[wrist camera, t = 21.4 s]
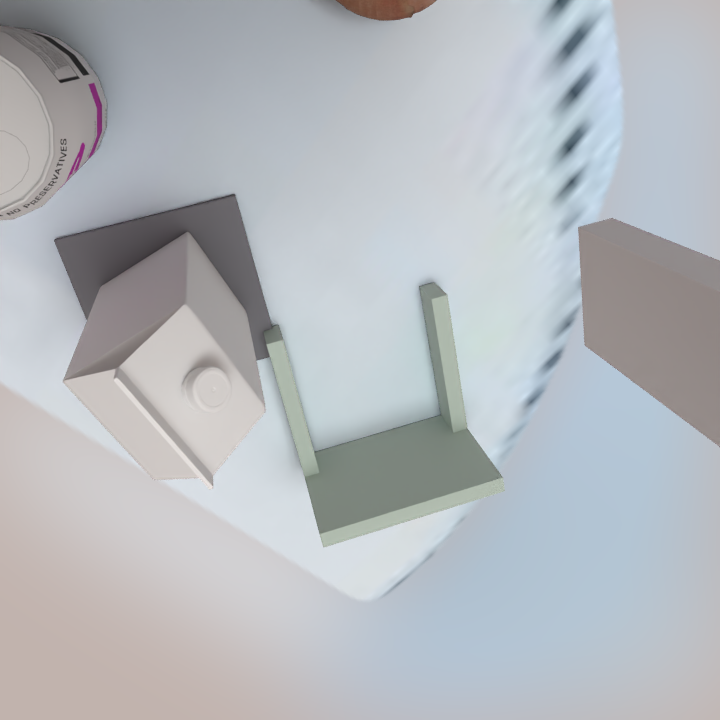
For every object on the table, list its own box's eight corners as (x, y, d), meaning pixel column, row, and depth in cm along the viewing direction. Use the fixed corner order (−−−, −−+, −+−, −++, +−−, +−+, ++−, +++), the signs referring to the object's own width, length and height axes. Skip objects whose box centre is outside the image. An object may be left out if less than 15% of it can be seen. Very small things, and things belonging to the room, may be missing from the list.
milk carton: (164, 364, 49) (148, 528, 32) (99, 285, 46) (44, 422, 29) (247, 312, 49) (275, 449, 32) (188, 229, 46) (185, 333, 29)
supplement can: (133, 141, 43) (107, 181, 30) (13, 194, 43) (-68, 259, 30) (62, 6, 40) (-5, -16, 26) (-70, 64, 39) (-206, 71, 26)
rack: (262, 328, 50) (277, 388, 41) (434, 282, 52) (484, 330, 43) (302, 468, 56) (323, 547, 47) (456, 423, 57) (504, 491, 48)
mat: (55, 239, 45) (54, 240, 44) (234, 194, 46) (235, 196, 45) (119, 395, 50) (119, 398, 49) (278, 351, 51) (279, 354, 51)
